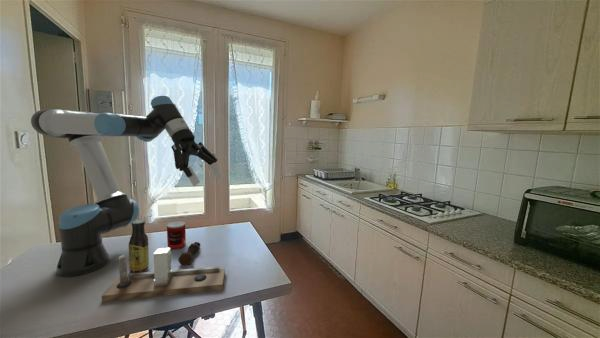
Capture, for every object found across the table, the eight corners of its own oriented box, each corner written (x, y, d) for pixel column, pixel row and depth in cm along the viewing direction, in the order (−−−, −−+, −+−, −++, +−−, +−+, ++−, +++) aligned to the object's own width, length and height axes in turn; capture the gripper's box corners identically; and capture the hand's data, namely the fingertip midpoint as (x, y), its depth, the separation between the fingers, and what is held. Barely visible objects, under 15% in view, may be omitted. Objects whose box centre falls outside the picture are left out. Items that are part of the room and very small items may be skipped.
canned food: (180, 241, 118) (179, 219, 117) (189, 245, 114) (188, 223, 112) (164, 246, 112) (163, 224, 111) (172, 251, 108) (172, 228, 106)
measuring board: (102, 301, 75) (99, 265, 73) (118, 282, 84) (116, 250, 83) (222, 289, 83) (222, 257, 81) (224, 273, 92) (224, 244, 91)
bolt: (198, 252, 112) (187, 268, 97) (189, 247, 111) (175, 263, 96) (205, 241, 112) (194, 256, 97) (195, 236, 111) (183, 251, 96)
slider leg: (153, 286, 79) (152, 255, 78) (160, 276, 85) (158, 247, 84) (167, 285, 80) (165, 254, 79) (172, 275, 86) (171, 246, 85)
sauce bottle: (125, 273, 90) (122, 222, 87) (141, 265, 96) (139, 217, 93) (137, 277, 88) (135, 225, 85) (153, 268, 94) (151, 220, 91)
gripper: (159, 125, 77) (192, 181, 76) (208, 129, 101) (234, 171, 100) (144, 138, 79) (177, 192, 78) (196, 139, 103) (221, 180, 102)
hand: (209, 181), depth 89 cm, fingers open, 13 cm apart
